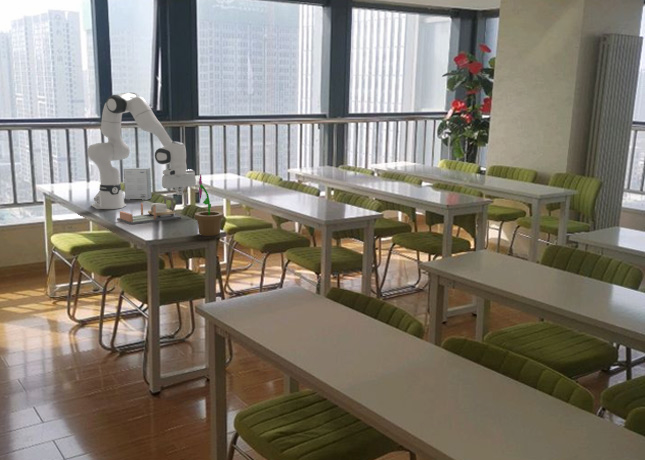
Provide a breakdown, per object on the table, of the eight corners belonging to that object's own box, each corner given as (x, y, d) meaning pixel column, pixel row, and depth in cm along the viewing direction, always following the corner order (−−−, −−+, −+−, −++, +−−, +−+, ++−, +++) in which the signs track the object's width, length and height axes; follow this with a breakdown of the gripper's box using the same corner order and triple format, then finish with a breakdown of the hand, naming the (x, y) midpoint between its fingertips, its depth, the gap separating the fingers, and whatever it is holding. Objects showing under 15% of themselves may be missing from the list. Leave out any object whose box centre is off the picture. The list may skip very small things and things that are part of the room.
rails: (122, 219, 385) (122, 217, 385) (168, 213, 404) (168, 211, 403) (129, 221, 380) (129, 219, 379) (175, 215, 398) (175, 213, 398)
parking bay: (118, 218, 388) (117, 205, 387) (142, 215, 397) (142, 202, 396) (131, 222, 376) (131, 209, 375) (156, 219, 386) (156, 206, 385)
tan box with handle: (148, 214, 396) (147, 197, 395) (165, 212, 404) (165, 195, 402) (156, 217, 389) (156, 199, 387) (174, 215, 396) (174, 198, 394)
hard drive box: (152, 198, 462) (150, 167, 458) (148, 200, 455) (146, 169, 451) (128, 197, 464) (127, 167, 459) (124, 199, 456) (123, 168, 452)
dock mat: (117, 219, 388) (116, 218, 388) (165, 213, 408) (165, 212, 408) (131, 224, 376) (131, 222, 376) (181, 218, 395) (181, 216, 395)
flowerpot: (196, 230, 363) (195, 172, 357) (224, 230, 364) (223, 172, 358) (193, 236, 349) (192, 176, 343) (222, 236, 350) (221, 176, 344)
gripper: (191, 168, 408) (192, 192, 411) (160, 171, 395) (161, 196, 398) (197, 169, 404) (198, 193, 406) (165, 172, 390) (166, 197, 393)
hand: (179, 194), depth 402 cm, fingers closed
